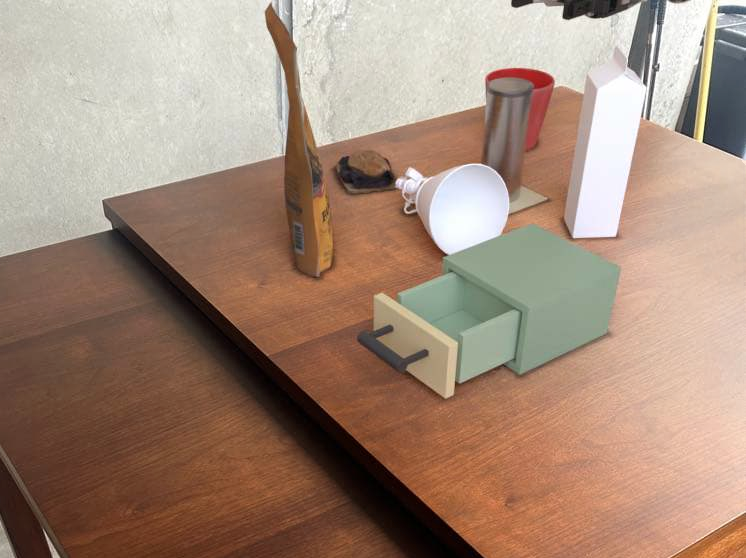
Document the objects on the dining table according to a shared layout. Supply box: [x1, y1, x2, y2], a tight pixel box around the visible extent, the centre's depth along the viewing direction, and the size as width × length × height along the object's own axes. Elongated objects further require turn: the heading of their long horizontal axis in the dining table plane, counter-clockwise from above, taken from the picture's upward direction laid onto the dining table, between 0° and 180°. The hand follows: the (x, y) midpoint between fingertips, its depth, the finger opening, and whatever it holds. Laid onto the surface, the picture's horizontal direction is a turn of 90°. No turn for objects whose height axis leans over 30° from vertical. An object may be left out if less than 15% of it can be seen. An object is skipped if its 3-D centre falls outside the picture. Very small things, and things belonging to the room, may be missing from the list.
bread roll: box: [335, 149, 397, 195], centre depth 132 cm, size 11×8×4 cm
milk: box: [563, 44, 648, 239], centre depth 111 cm, size 6×6×22 cm
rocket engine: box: [395, 163, 509, 256], centre depth 118 cm, size 12×12×18 cm
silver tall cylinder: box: [480, 77, 534, 203], centre depth 121 cm, size 6×6×15 cm
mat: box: [508, 185, 549, 215], centre depth 127 cm, size 10×10×1 cm
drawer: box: [356, 271, 522, 400], centre depth 94 cm, size 17×13×6 cm
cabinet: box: [441, 222, 622, 376], centre depth 99 cm, size 14×14×8 cm
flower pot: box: [484, 67, 556, 151], centre depth 138 cm, size 11×11×10 cm
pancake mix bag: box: [264, 1, 334, 278], centre depth 107 cm, size 7×19×28 cm, turn 4°
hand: (539, 4), depth 111 cm, fingers open, 8 cm apart
